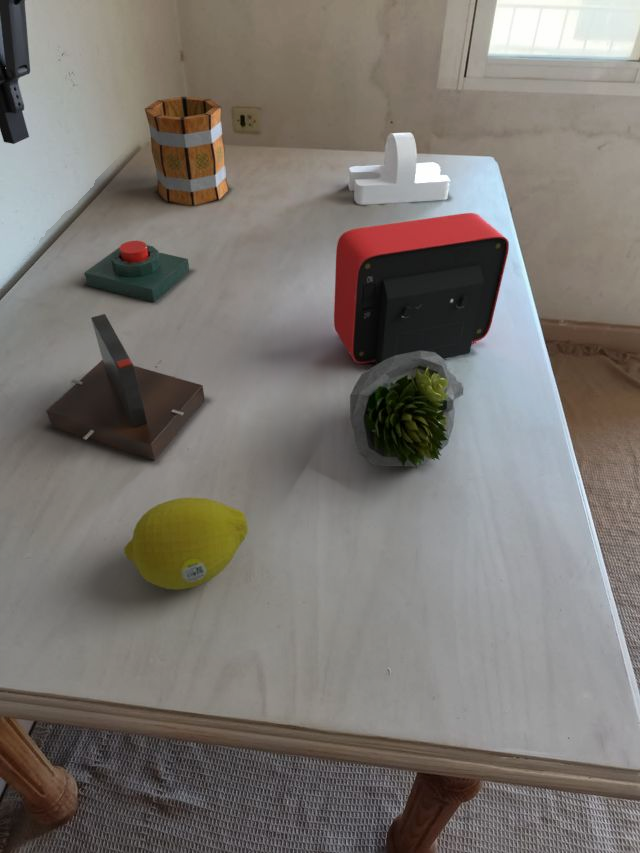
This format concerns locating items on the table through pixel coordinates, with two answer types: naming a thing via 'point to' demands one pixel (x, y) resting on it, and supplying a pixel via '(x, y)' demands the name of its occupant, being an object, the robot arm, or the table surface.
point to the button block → (138, 274)
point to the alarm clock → (417, 286)
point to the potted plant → (404, 409)
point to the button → (134, 251)
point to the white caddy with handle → (398, 176)
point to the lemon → (185, 542)
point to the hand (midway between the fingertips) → (16, 139)
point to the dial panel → (107, 420)
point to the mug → (188, 149)
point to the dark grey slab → (119, 370)
